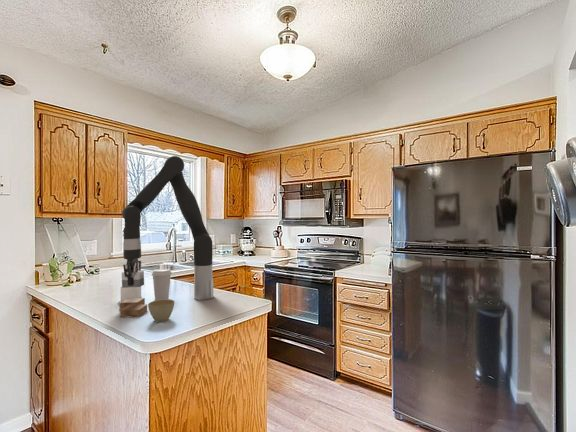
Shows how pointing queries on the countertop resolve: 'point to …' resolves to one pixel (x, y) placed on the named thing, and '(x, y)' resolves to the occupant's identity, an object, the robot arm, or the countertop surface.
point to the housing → (134, 279)
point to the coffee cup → (161, 283)
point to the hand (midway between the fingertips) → (133, 284)
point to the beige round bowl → (161, 309)
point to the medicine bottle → (130, 292)
